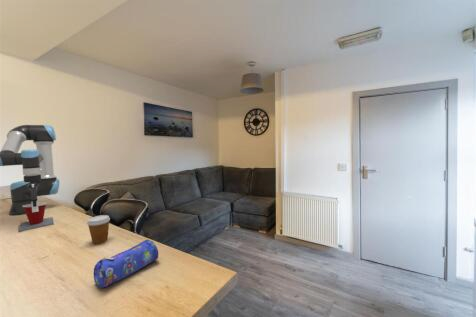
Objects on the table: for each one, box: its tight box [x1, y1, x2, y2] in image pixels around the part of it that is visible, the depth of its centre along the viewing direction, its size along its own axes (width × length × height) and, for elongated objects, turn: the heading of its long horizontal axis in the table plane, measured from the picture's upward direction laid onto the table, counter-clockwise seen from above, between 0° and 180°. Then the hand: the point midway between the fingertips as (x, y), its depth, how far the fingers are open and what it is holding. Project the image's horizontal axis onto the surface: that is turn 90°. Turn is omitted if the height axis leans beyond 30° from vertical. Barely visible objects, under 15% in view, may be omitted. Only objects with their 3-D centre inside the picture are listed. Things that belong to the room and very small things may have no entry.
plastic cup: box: [23, 202, 48, 225], centre depth 128 cm, size 11×11×12 cm
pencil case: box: [93, 239, 159, 289], centre depth 78 cm, size 22×9×10 cm, turn 146°
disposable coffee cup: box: [86, 214, 111, 245], centre depth 103 cm, size 10×10×12 cm
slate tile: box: [18, 216, 55, 233], centre depth 128 cm, size 15×15×1 cm
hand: (35, 209), depth 127 cm, fingers open, 13 cm apart
